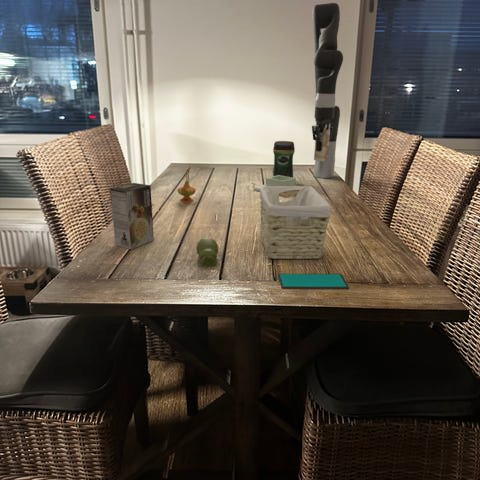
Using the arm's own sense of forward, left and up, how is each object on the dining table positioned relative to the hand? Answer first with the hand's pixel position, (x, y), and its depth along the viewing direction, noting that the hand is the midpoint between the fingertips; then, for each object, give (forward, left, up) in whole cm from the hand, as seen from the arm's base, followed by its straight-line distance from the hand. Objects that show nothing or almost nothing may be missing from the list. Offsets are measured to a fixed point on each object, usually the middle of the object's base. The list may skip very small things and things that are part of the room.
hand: (321, 150), depth 177 cm
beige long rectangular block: (0, 0, -4) cm, 4 cm away
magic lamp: (+47, -29, -18) cm, 58 cm away
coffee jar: (-6, -23, -18) cm, 30 cm away
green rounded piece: (+83, +18, -18) cm, 87 cm away
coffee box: (+88, -6, -18) cm, 90 cm away
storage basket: (+60, +27, -18) cm, 68 cm away
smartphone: (+76, +44, -18) cm, 90 cm away
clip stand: (+7, -14, -18) cm, 24 cm away
